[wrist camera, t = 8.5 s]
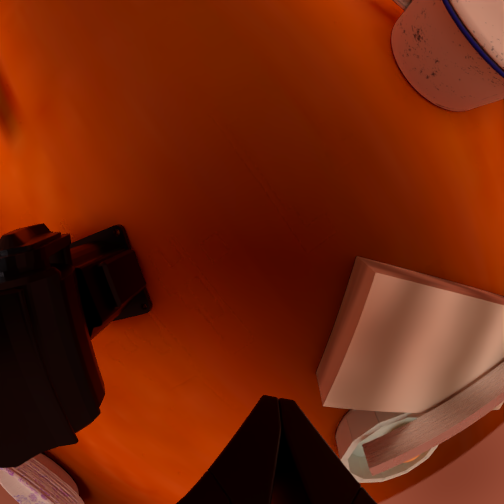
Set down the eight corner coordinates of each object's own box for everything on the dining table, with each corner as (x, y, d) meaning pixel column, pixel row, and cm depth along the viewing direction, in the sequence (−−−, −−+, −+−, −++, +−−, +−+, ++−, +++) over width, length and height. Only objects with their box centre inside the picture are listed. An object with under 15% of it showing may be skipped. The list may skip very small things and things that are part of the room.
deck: (315, 372, 21) (322, 405, 17) (356, 256, 19) (375, 272, 15) (480, 387, 21) (499, 409, 17) (519, 300, 19) (546, 316, 15)
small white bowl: (341, 466, 24) (346, 491, 20) (328, 407, 22) (334, 436, 19) (427, 437, 23) (438, 459, 19) (430, 372, 21) (448, 395, 17)
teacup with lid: (496, 72, 15) (587, 36, 4) (457, 140, 17) (577, 121, 6) (387, -26, 14) (437, -111, 3) (329, 27, 16) (371, -86, 5)
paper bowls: (59, 445, 27) (31, 484, 19) (110, 508, 29) (94, 543, 22) (-1, 425, 28) (-27, 452, 20) (45, 486, 31) (27, 513, 23)
